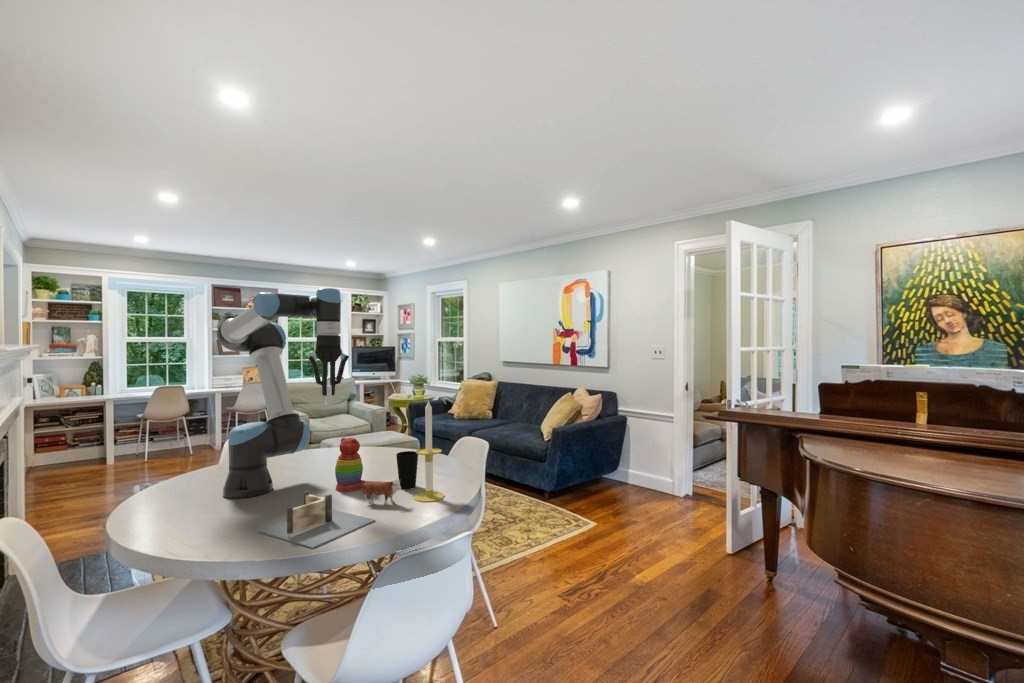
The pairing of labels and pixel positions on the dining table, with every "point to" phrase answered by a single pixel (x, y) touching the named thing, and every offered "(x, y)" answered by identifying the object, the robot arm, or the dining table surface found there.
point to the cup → (407, 468)
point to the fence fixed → (328, 499)
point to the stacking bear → (349, 466)
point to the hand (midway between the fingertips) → (328, 405)
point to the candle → (428, 462)
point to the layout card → (320, 530)
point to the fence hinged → (305, 515)
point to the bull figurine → (381, 489)
